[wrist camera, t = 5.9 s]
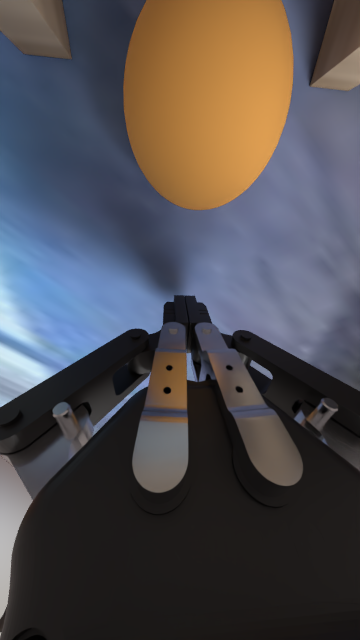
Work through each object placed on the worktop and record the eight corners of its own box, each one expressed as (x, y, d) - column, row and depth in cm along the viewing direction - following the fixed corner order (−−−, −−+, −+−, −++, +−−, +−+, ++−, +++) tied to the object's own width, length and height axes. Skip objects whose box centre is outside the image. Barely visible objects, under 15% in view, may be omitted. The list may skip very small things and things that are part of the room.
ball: (83, 65, 4) (135, 232, 10) (359, 98, 4) (245, 239, 10) (103, -156, 4) (140, 129, 10) (344, -111, 5) (245, 140, 11)
